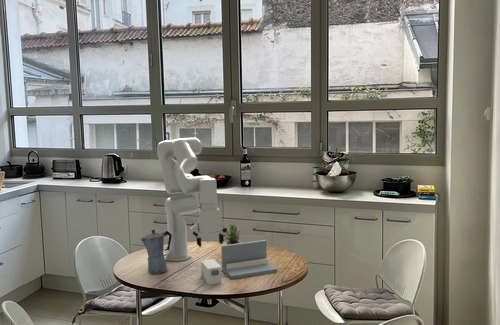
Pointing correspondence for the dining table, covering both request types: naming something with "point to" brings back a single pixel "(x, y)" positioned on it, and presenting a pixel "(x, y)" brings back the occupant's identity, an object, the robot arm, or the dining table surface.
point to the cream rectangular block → (211, 271)
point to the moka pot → (156, 251)
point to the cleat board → (246, 259)
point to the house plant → (232, 235)
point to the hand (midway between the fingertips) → (210, 244)
